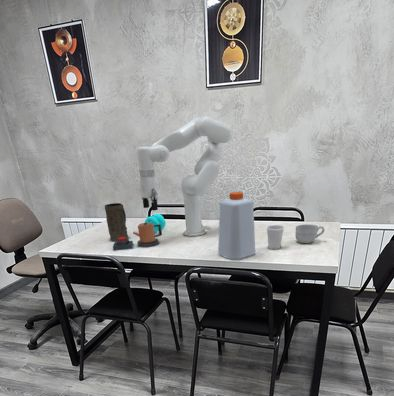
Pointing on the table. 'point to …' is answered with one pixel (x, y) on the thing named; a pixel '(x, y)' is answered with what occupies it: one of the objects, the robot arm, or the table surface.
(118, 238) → the button
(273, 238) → the dixie cup
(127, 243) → the switch box
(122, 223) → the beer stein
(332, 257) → the table surface
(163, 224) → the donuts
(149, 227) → the kettle
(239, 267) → the table surface
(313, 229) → the teacup
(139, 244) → the base
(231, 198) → the plastic bottle
